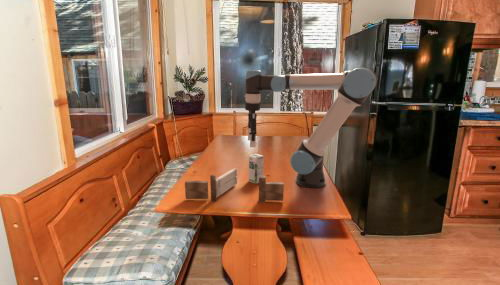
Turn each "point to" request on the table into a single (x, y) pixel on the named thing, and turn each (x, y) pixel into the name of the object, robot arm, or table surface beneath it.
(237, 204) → the table surface
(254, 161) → the syrup box
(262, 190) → the fence
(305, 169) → the robot arm
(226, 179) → the gate
